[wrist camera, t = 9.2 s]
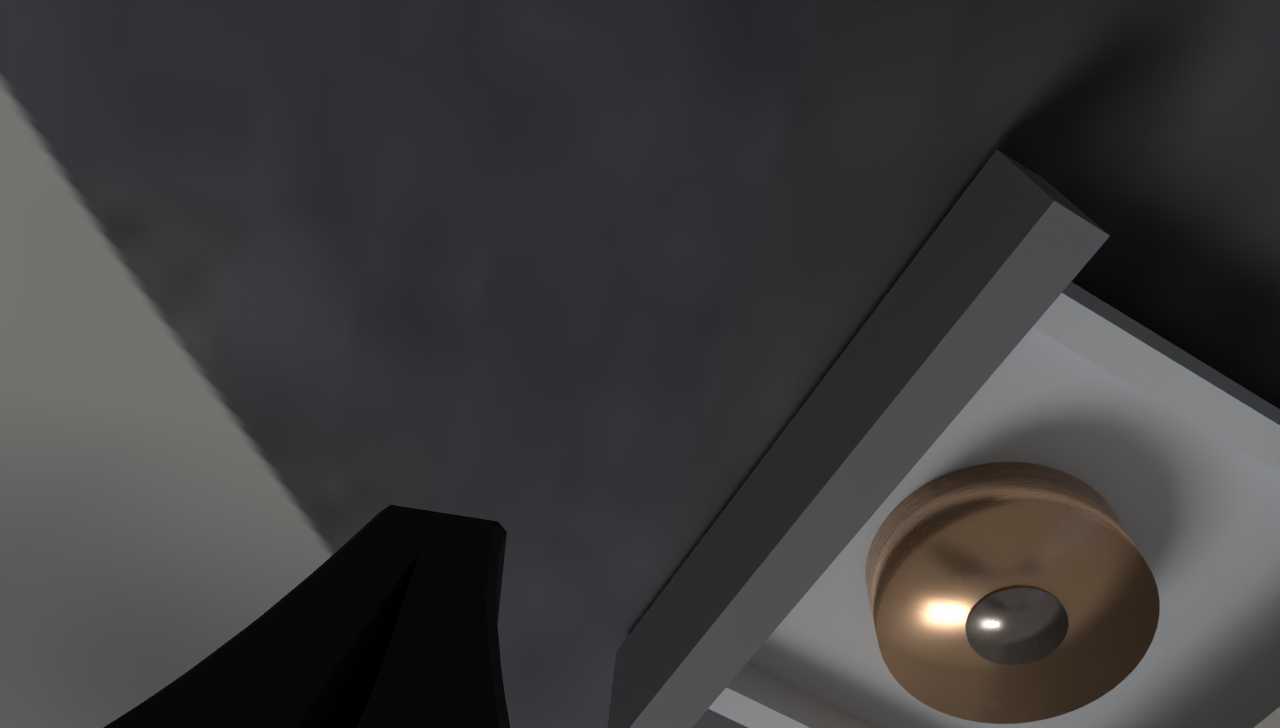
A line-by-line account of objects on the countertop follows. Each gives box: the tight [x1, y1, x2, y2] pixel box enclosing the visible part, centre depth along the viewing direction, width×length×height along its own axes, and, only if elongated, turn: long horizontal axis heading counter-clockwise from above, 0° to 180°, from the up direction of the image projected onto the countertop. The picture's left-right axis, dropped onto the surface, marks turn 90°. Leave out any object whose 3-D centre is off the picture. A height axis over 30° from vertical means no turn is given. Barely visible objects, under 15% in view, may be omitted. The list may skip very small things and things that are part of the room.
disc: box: [865, 462, 1160, 724], centre depth 18 cm, size 5×5×2 cm
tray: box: [608, 149, 1280, 728], centre depth 19 cm, size 13×13×3 cm
